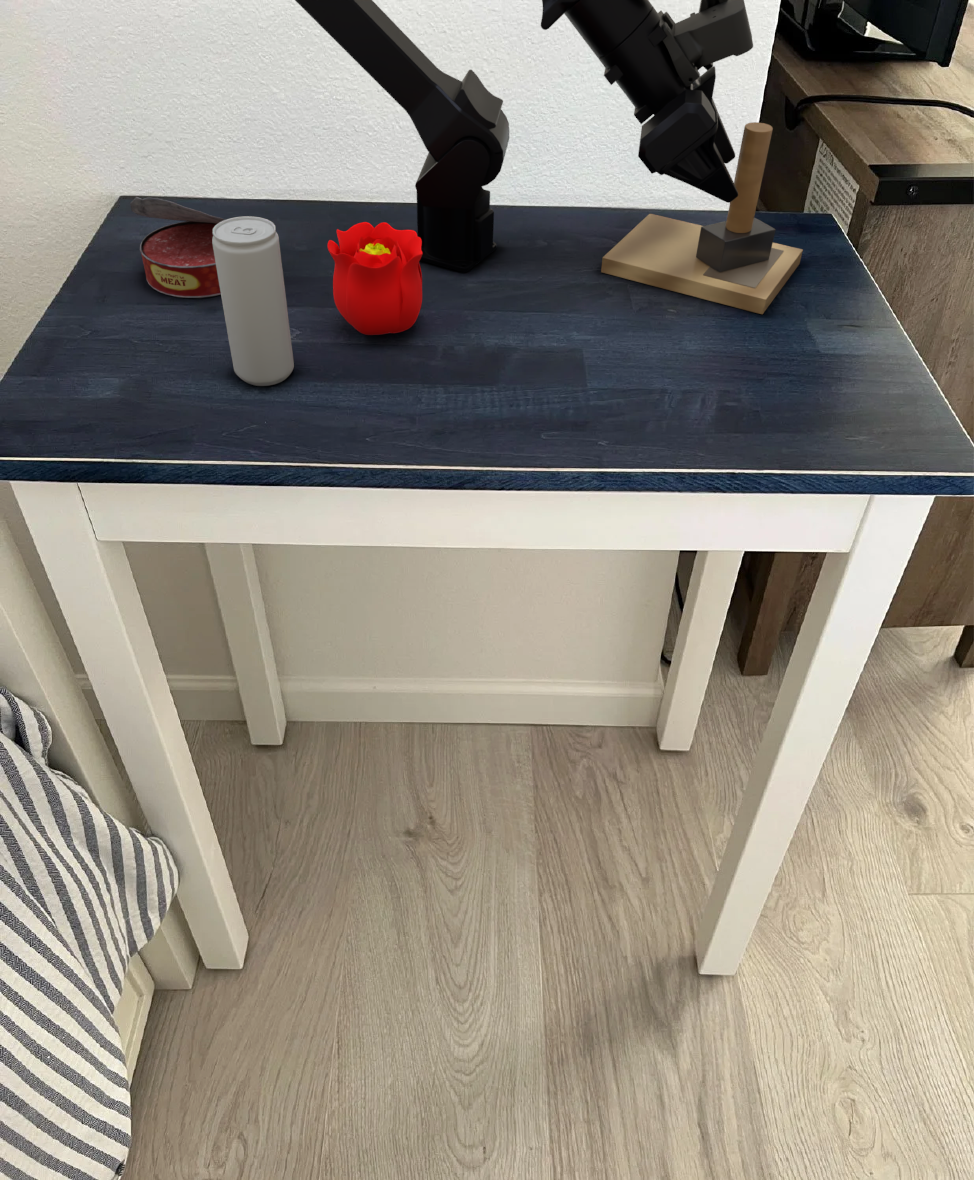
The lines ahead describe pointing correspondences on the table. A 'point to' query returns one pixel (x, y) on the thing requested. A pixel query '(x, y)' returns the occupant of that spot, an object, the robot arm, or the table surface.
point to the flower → (377, 277)
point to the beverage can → (254, 299)
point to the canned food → (179, 250)
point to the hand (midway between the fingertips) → (732, 178)
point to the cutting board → (696, 265)
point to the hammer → (741, 211)
